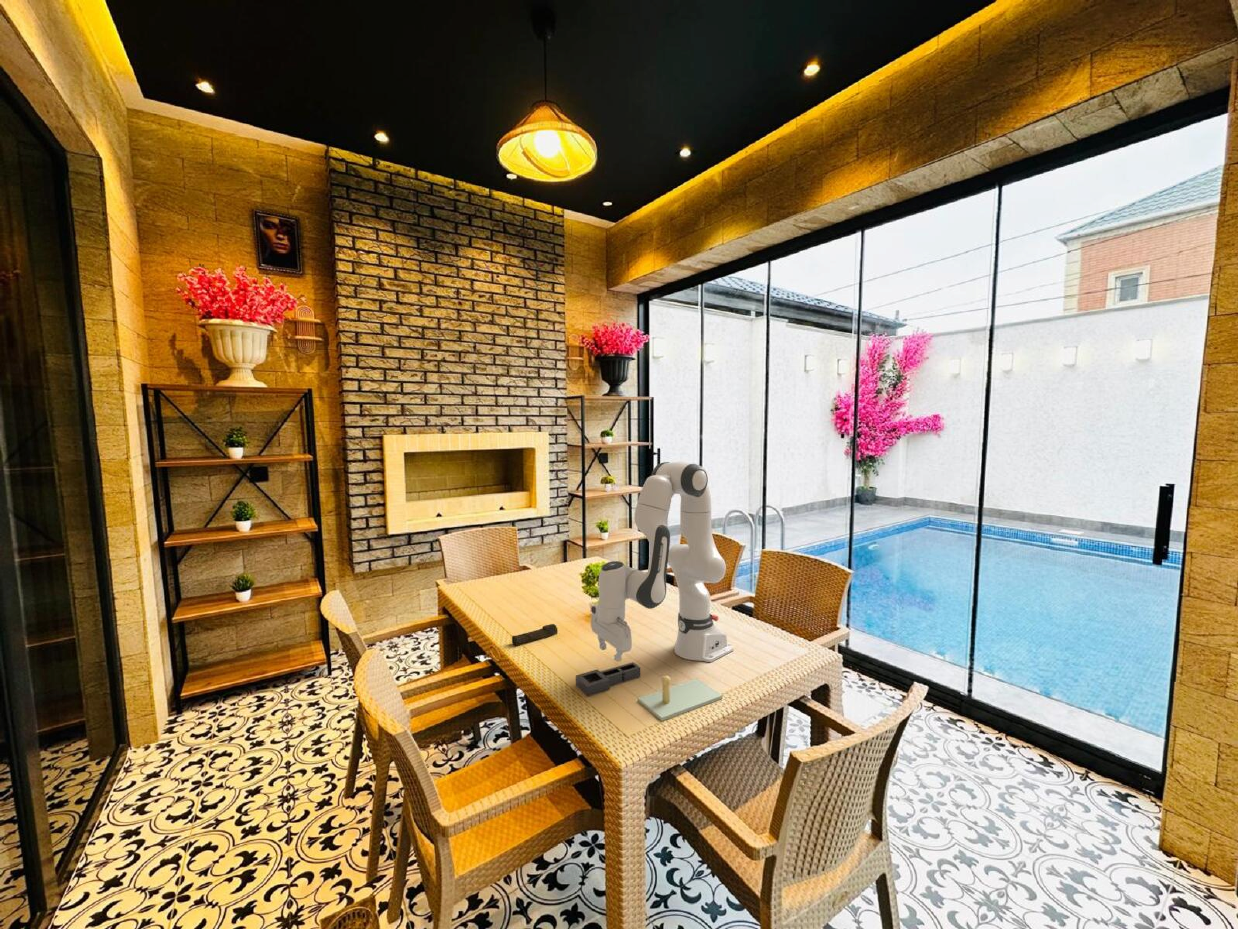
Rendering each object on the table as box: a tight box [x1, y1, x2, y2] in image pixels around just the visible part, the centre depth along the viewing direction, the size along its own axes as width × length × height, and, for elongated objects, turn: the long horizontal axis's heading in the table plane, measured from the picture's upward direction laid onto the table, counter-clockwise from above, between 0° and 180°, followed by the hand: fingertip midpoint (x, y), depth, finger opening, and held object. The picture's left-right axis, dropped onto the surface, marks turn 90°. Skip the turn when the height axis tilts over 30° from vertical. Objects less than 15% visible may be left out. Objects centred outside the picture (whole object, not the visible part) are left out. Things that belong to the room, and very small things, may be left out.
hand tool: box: [511, 623, 558, 647], centre depth 193 cm, size 19×4×5 cm, turn 124°
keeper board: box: [637, 675, 723, 722], centre depth 151 cm, size 23×12×9 cm, turn 121°
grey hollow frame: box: [575, 661, 641, 697], centre depth 161 cm, size 21×8×3 cm, turn 122°
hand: (610, 654), depth 161 cm, fingers open, 8 cm apart
